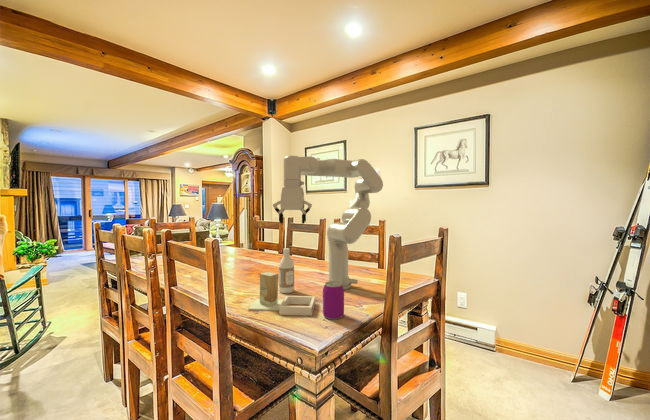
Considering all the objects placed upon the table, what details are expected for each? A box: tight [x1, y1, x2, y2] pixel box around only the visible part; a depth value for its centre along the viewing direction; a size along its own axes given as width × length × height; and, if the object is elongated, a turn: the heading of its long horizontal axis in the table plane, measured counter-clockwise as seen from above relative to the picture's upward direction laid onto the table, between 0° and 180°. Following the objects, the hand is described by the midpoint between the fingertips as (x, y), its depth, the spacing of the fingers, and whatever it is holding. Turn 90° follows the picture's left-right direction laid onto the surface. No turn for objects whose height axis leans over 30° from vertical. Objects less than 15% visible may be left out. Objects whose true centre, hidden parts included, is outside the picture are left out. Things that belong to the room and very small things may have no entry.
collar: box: [278, 295, 316, 316], centre depth 108 cm, size 12×12×3 cm
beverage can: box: [322, 280, 345, 321], centre depth 101 cm, size 8×8×12 cm
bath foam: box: [278, 247, 295, 294], centre depth 129 cm, size 7×7×20 cm
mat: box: [248, 298, 284, 312], centre depth 112 cm, size 12×11×1 cm
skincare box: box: [259, 271, 279, 306], centre depth 112 cm, size 6×4×12 cm
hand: (292, 223), depth 123 cm, fingers open, 9 cm apart
